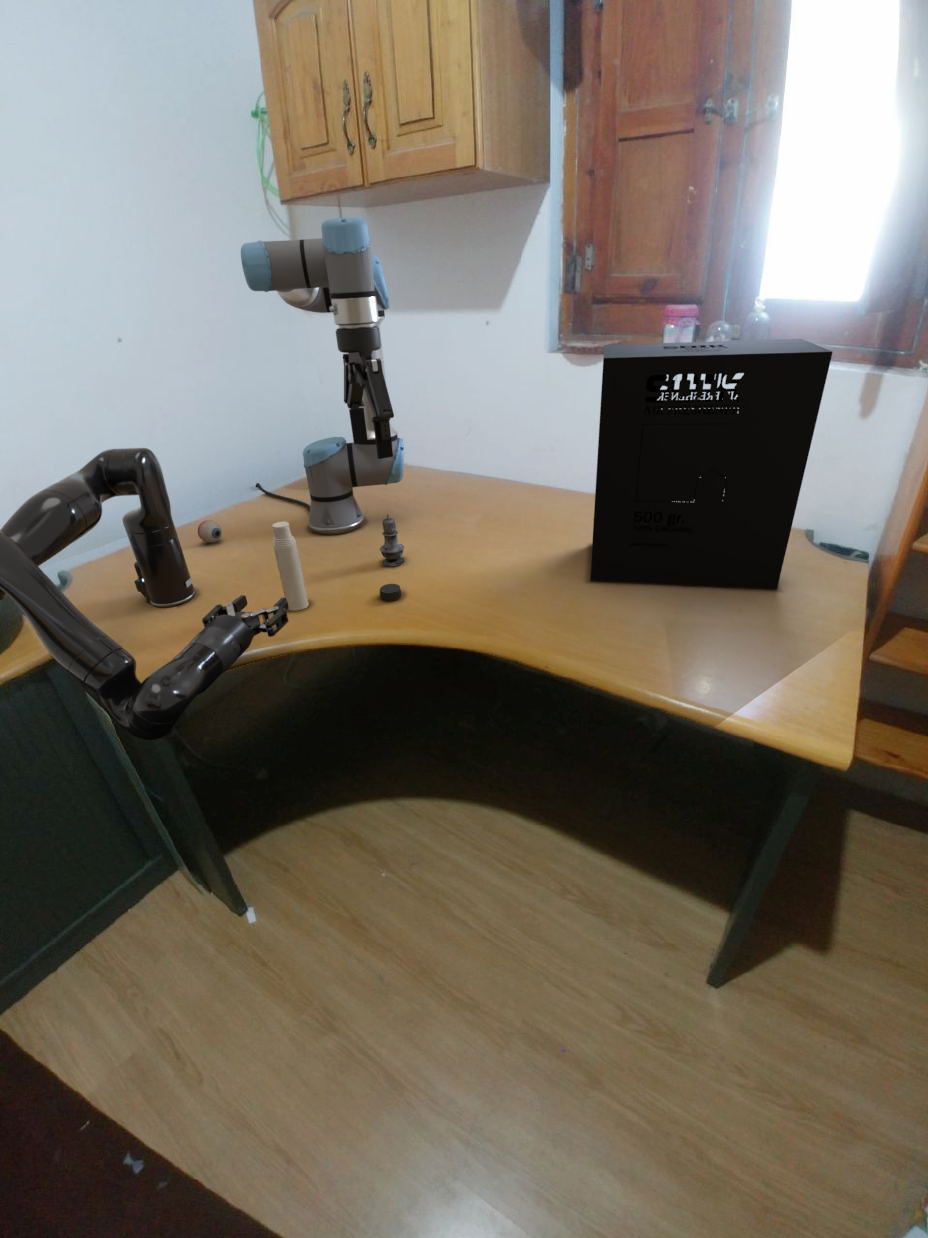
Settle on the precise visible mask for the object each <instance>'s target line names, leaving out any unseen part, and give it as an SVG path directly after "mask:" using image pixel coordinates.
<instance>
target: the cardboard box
mask: <svg viewBox="0 0 928 1238" xmlns="http://www.w3.org/2000/svg"><path fill="white" fill-rule="evenodd" d="M833 353H834V352H833V350H830V349H827V348H826V347H825V348H824V347H822V346H821V345H818V344H815V343H813V342H810V341H808V340H805V339H802V338H783V339H782V338H781V339H779V338H777V339H776V338H775V339H749V340H747V339H746V340H723V341H722V340H720V341H719V340H718V341H689V342H687V341H685V342H683V341H682V342H657V343H654V342H653V343H627V344H625V343H624V344H623V343H621V344H604V345H603V359H602V362H603V363H602V375H601V389H600V390H601V392H600V409H599V424H598V425H599V426H598V427H599V428H598V442H597V457H596V458H597V459H596V460H597V461H596V475H595V493H594V496H595V497H594V508H593V509H594V510H593V525H592V527H593V528H592V541H591V557H590V558H591V560H590V575H589V576H590V577H589V580H590V582H603V583H622V584H623V583H625V584H626V583H628V584H645V585H647V584H648V585H669V586H670V585H671V586H693V587H712V588H714V587H715V588H734V589H735V588H737V589H755V590H757V589H758V590H759V589H760V590H778V586H779V582H780V577H781V574H782V570H783V565H784V561H785V556H786V553H787V548H788V543H789V539H790V536H791V531H792V526H793V522H794V519H795V513H796V510H797V505H798V501H799V497H800V493H801V489H802V484H803V480H804V476H805V471H806V467H807V464H808V463H807V462H808V458H809V455H810V450H811V446H812V442H813V437H814V434H815V430H816V425H817V421H818V417H819V411H820V407H821V404H822V400H823V399H822V398H823V394H824V390H825V386H826V381H827V378H828V374H829V369H830V366H831V360H832V356H833ZM738 374H742V376H741V377H740V378H735V376H736V375H738ZM678 375H681V379H680V380H679V384H678V388H675V385H676V379H675V377H676V376H678ZM689 375H693V380H692V381H691V379H688V376H689ZM702 375H704V379H702ZM719 378H720V382H719ZM724 378H725V382H724ZM723 382H724V385H730V384H731V385H734V388H725V387H724V386H723ZM691 383H692V385H695V388H691ZM705 385H710V388H704V386H705ZM662 387H666V389H662Z"/></svg>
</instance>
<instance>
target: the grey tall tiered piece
mask: <svg viewBox="0 0 928 1238" xmlns="http://www.w3.org/2000/svg"><path fill="white" fill-rule="evenodd" d="M382 528H383V529H382V530H383V532H382V536H383V538H384V544H383V545H381V546H380V547H379V551H380V553H381V555H382V557H383V558H384V559H383V560H382V564H383V565H384V566H386V567H396V566H400V565H402V564H404V562H405V558H404V557H402V555H403V553H404V550H405V546H404V544H402V543H400V542H399V541H398V534H399V532H398V531H397V527H396V521H395V519H394V518H393V517H390V515H389V514H386V517H385V518H383V520H382Z"/></svg>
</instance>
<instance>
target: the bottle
mask: <svg viewBox="0 0 928 1238" xmlns="http://www.w3.org/2000/svg"><path fill="white" fill-rule="evenodd" d="M272 531H273V534H274V537H273V541H272V542H273V543H272V546H273V552H274V555H275V560H276V565H277V569H278V572H279V578H280V582H281V587H282V591H283V595H284V598H286V600H287V601H288V606H289V608H288V609H287V610H288V611H291V612H298V611H302V610H304V609H306V608H308V607H309V606H310V603H309V598H308V593H307V588H306V583H305V578H304V572H303V568H302V562H301V558H300V554H299V548H298V544H297V541H296V538H295V537H294V536H293V534H291V533H292V532H291V528H290V523H289V522H288V521H277V522H274V523H273V524H272Z"/></svg>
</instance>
